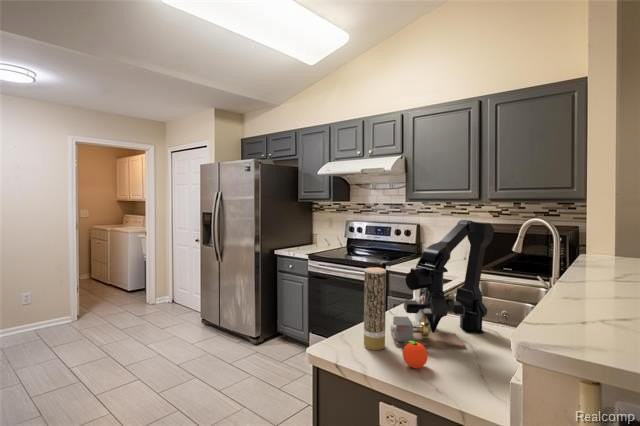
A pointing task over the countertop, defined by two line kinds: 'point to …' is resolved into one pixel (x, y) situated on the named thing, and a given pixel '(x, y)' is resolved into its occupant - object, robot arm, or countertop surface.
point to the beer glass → (419, 297)
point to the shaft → (416, 329)
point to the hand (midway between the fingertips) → (432, 332)
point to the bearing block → (403, 329)
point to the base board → (435, 340)
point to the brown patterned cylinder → (374, 308)
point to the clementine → (415, 354)
